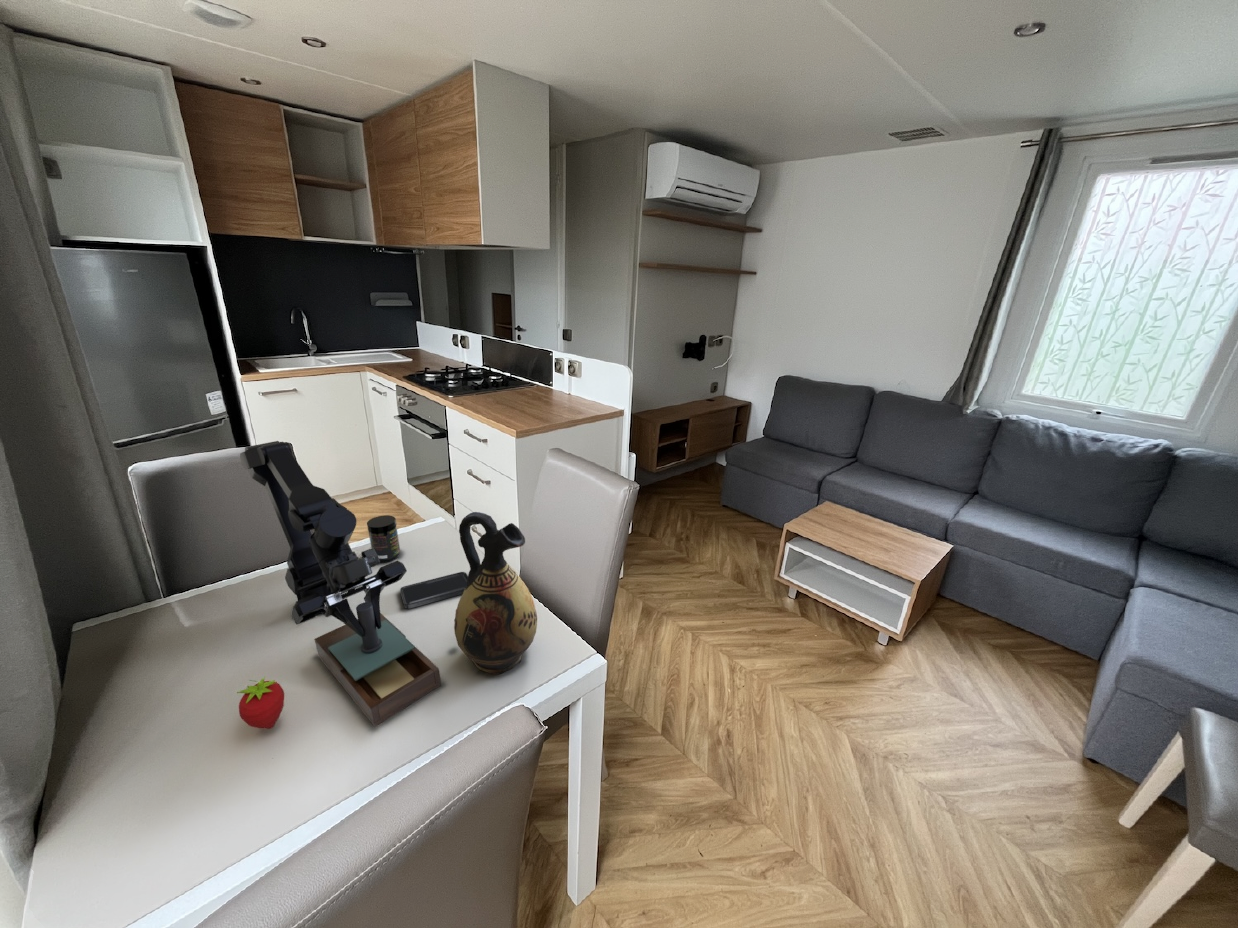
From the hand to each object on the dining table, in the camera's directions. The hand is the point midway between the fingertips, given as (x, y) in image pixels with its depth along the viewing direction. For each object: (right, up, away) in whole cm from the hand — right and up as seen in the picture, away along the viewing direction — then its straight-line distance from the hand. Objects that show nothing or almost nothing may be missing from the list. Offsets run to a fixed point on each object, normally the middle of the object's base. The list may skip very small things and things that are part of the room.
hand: (371, 632), depth 89 cm
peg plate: (-1, -4, +2) cm, 5 cm away
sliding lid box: (-1, -8, +4) cm, 9 cm away
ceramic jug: (+20, -7, +8) cm, 23 cm away
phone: (+2, 0, +27) cm, 27 cm away
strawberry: (-12, -13, -8) cm, 20 cm away
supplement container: (-16, +6, +41) cm, 44 cm away
